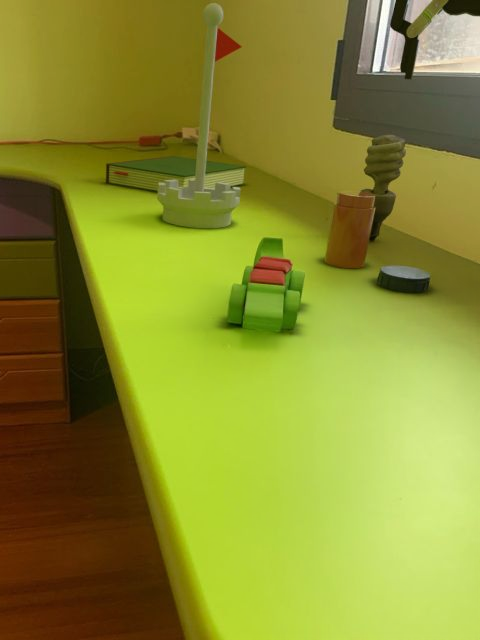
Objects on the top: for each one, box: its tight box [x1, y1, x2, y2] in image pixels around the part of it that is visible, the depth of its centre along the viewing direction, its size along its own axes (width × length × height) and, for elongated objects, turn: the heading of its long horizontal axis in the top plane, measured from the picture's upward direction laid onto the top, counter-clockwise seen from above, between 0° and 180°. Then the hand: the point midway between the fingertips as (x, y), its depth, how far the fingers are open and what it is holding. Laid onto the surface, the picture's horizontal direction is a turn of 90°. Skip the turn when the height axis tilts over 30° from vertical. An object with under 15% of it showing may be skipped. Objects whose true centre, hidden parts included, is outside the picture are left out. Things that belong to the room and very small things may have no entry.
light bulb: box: [360, 134, 407, 242], centre depth 101 cm, size 6×6×15 cm
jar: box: [323, 190, 375, 269], centre depth 90 cm, size 5×5×9 cm
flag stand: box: [156, 2, 243, 229], centre depth 104 cm, size 13×13×30 cm
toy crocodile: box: [226, 236, 306, 333], centre depth 69 cm, size 20×7×6 cm, turn 166°
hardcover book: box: [105, 155, 247, 193], centre depth 143 cm, size 25×19×4 cm
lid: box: [376, 265, 432, 294], centre depth 83 cm, size 6×6×2 cm
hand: (450, 82), depth 73 cm, fingers open, 8 cm apart
